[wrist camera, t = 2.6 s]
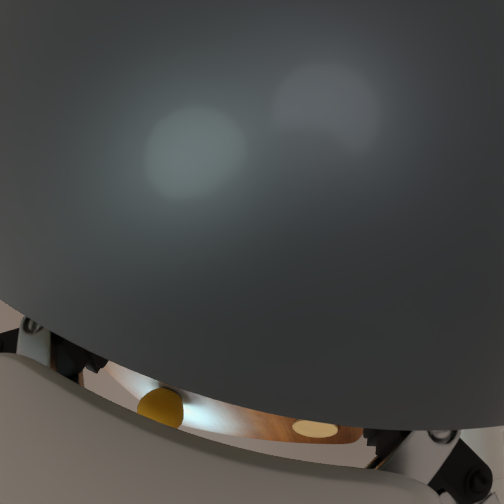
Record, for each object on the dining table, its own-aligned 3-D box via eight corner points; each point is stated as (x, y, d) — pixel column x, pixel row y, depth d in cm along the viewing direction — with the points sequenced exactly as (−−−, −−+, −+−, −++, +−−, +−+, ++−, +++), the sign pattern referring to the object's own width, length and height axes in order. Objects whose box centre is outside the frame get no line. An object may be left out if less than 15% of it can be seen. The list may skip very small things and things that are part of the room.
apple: (180, 383, 46) (159, 424, 39) (199, 407, 50) (182, 445, 43) (143, 375, 49) (122, 412, 42) (163, 399, 53) (146, 433, 46)
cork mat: (343, 421, 41) (343, 424, 40) (331, 437, 45) (330, 439, 45) (297, 414, 42) (296, 417, 42) (289, 430, 47) (289, 433, 46)
